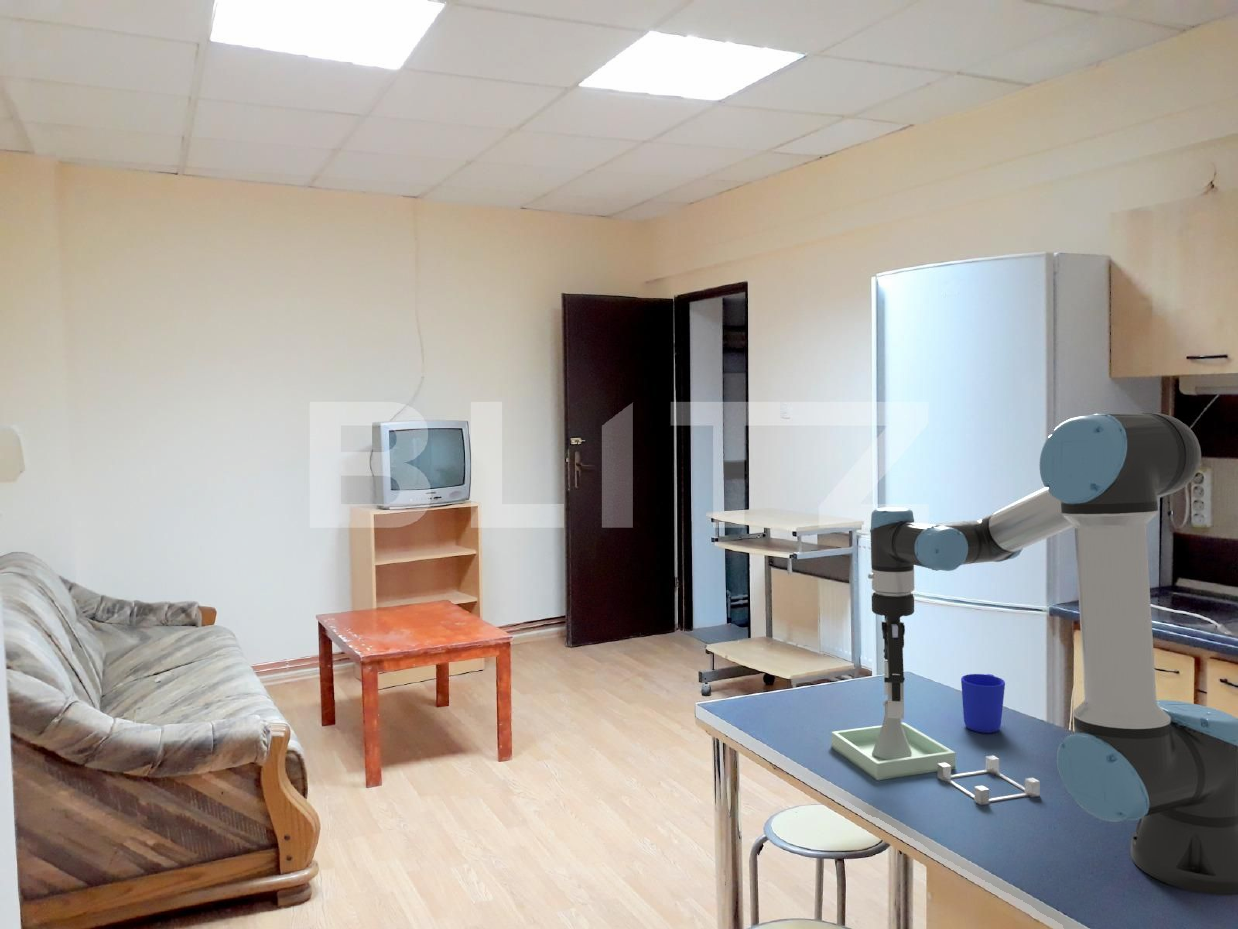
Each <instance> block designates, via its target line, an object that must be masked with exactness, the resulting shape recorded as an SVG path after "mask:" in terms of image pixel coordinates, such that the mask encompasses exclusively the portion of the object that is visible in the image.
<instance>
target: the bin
mask: <svg viewBox="0 0 1238 929" xmlns="http://www.w3.org/2000/svg"><path fill="white" fill-rule="evenodd" d="M901 724H902V727H903V730H904V733H905V736H906V738H907V741H908V743H909V746H910V749H911V752H912V754H911V757H906V758H899V759H892V760H883V759H881V758H878V757H876V756H874V755H872V752H873V749H874V746H875V743H876V741H877V738H878V736H879V733H880V730H881V727H882V725H883V724H881V725H874V726H868V727H858V728H851V729H843V730H836V731H834V730H833V731H831V735H830V736H831V737H830V738H831V741H830V743H831V744H830V747H831V748H832V749H833V750H834V751H836V752H837V753H838V754H840V755H841V756H843V757H844V758H845V759H847V760H849V761H850V762H851V763H852V764H854V765H855V766H856V767H858V768H860V769H861V770H862V771H864V772H865V773H866V774H867V775H869V776H870V777H872V778H873V779H874V780H876V781H881V780H888V779H896V778H902V777H903V778H904V777H908V776H916V775H923V774H929V773H936V772H937V768H938V763H947V764H949V765H950V766H951V770H955V769H956V751H954V750H952V749H950V748H949V747H946V746H945V745H944V744H942V743H940V742H938V741H936V740H935V739H933V738H932V737H930V736H928V735H926V734H925V733H923V732H921V731H920V730H919V729H916V728H915V727H912V726H911V725H909V724H908V723H906V722H901Z"/></svg>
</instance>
